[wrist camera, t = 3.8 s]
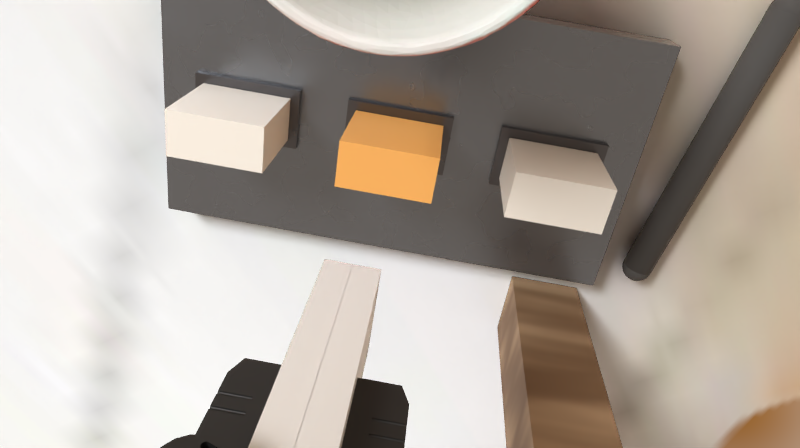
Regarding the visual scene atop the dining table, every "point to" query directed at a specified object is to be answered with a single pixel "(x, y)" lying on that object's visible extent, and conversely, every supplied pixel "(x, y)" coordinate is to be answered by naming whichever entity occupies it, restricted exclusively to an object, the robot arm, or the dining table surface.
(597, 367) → the post
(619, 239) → the dining table surface
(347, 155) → the block
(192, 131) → the paddle
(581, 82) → the switch plate
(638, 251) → the dark grey rod
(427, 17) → the mug
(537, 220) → the cream rectangular box
